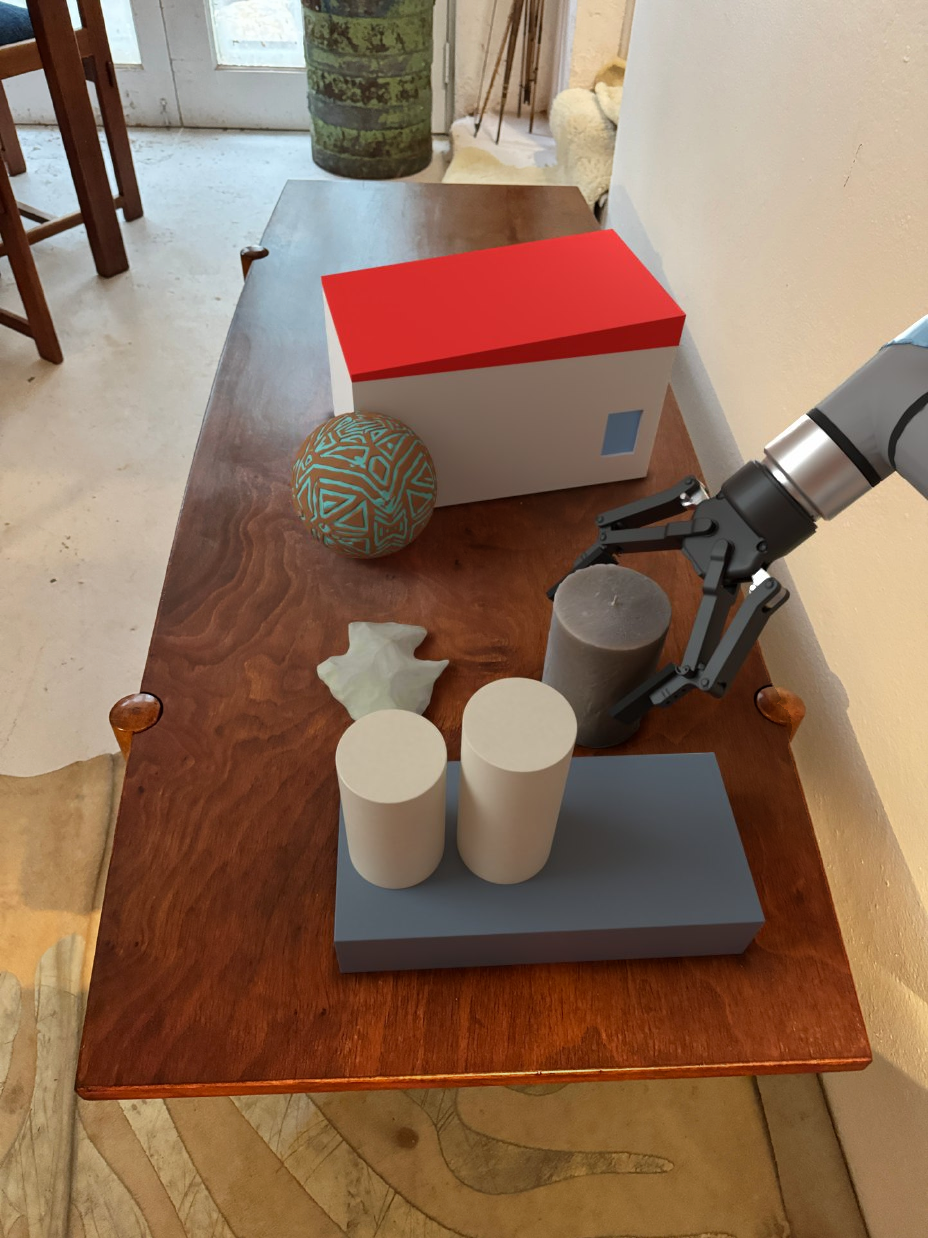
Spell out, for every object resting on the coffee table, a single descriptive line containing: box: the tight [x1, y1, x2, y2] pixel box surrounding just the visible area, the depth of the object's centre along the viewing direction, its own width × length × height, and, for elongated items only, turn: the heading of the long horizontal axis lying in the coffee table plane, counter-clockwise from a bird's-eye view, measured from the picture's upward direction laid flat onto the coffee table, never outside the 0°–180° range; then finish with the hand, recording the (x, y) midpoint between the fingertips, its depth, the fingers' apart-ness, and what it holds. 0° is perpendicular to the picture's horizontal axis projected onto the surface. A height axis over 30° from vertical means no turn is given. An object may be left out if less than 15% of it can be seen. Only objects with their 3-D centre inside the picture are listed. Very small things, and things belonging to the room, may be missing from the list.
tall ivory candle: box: [457, 677, 577, 884], centre depth 57 cm, size 7×7×15 cm
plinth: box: [333, 752, 766, 974], centre depth 65 cm, size 30×14×6 cm, turn 93°
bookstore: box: [320, 228, 687, 508], centre depth 97 cm, size 21×35×21 cm, turn 105°
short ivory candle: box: [335, 709, 448, 889], centre depth 58 cm, size 7×7×12 cm
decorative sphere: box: [290, 412, 437, 559], centre depth 87 cm, size 15×15×15 cm
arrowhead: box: [316, 621, 450, 722], centre depth 78 cm, size 12×3×15 cm
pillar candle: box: [541, 564, 673, 749], centre depth 73 cm, size 10×10×15 cm
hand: (584, 656), depth 73 cm, fingers open, 13 cm apart
